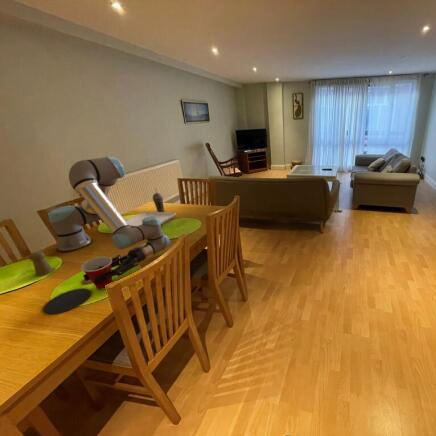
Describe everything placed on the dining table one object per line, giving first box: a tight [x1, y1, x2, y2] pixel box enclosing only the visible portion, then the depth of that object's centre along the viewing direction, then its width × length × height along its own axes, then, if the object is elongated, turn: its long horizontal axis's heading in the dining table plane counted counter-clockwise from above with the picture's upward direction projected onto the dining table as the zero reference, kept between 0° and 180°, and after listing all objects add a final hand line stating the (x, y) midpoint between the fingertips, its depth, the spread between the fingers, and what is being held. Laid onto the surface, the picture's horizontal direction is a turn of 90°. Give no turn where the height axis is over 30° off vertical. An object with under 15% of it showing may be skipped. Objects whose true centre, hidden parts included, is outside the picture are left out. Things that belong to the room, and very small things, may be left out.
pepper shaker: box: [28, 251, 54, 277], centre depth 116 cm, size 6×6×11 cm
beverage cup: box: [152, 187, 165, 212], centre depth 190 cm, size 7×7×20 cm
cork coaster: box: [81, 279, 93, 285], centre depth 112 cm, size 6×6×1 cm
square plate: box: [125, 211, 177, 228], centre depth 172 cm, size 27×27×4 cm
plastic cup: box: [80, 256, 114, 290], centre depth 105 cm, size 11×11×12 cm
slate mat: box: [42, 288, 92, 315], centre depth 99 cm, size 15×15×1 cm
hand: (89, 280), depth 101 cm, fingers closed on plastic cup, 6 cm apart
